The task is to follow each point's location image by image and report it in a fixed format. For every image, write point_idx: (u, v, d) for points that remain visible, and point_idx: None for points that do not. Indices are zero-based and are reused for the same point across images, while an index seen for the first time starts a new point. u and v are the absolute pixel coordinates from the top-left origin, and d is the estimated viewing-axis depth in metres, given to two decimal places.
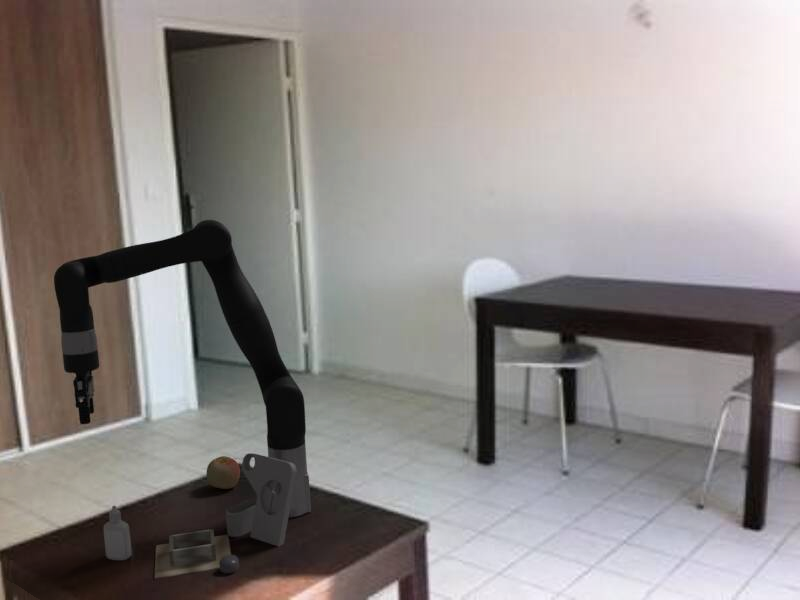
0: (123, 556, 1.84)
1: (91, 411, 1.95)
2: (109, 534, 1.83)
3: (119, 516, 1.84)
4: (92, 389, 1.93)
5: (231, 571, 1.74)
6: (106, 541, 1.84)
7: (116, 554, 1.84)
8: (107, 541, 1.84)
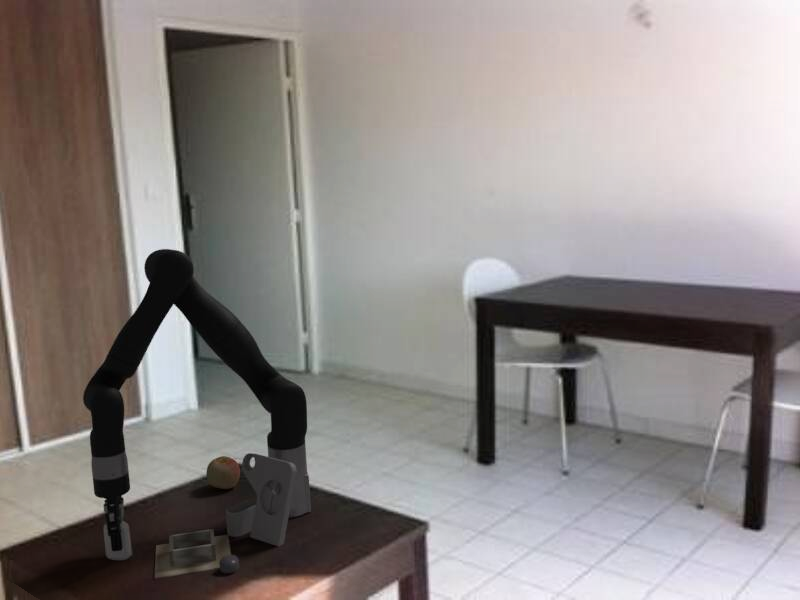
0: (123, 556, 1.84)
1: None
2: None
3: (119, 516, 1.84)
4: (122, 513, 1.86)
5: (231, 571, 1.74)
6: (106, 541, 1.84)
7: (116, 554, 1.84)
8: (107, 541, 1.84)
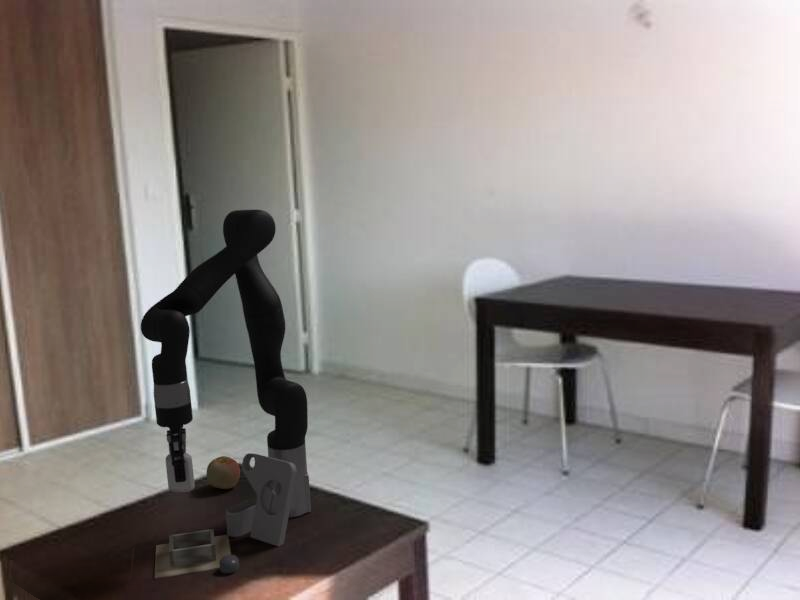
0: (186, 488, 1.79)
1: None
2: (171, 465, 1.79)
3: None
4: (184, 445, 1.82)
5: (231, 571, 1.74)
6: (168, 473, 1.80)
7: (179, 486, 1.79)
8: (170, 473, 1.80)
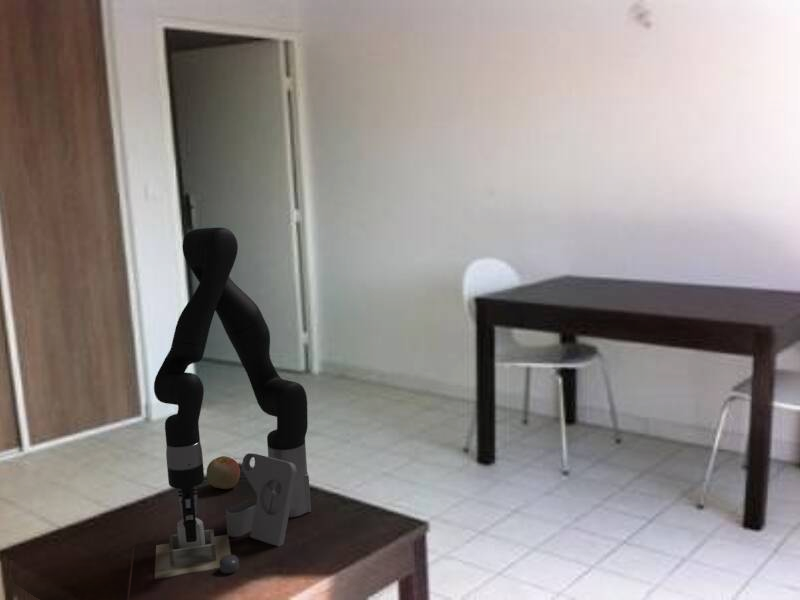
0: None
1: None
2: (183, 531, 1.81)
3: None
4: None
5: (231, 571, 1.74)
6: (180, 539, 1.81)
7: None
8: (181, 539, 1.81)
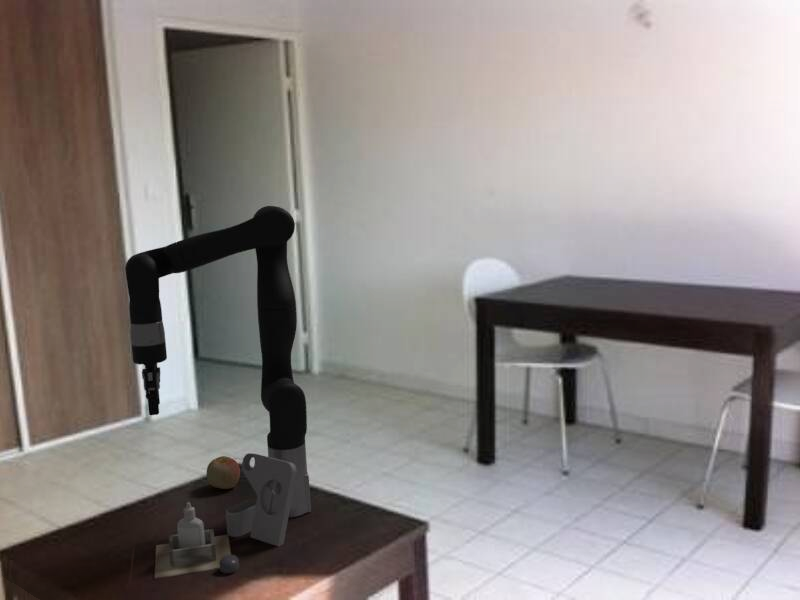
0: None
1: None
2: (183, 531, 1.81)
3: (194, 513, 1.81)
4: (159, 380, 1.95)
5: (231, 571, 1.74)
6: (180, 539, 1.82)
7: None
8: (181, 539, 1.81)
